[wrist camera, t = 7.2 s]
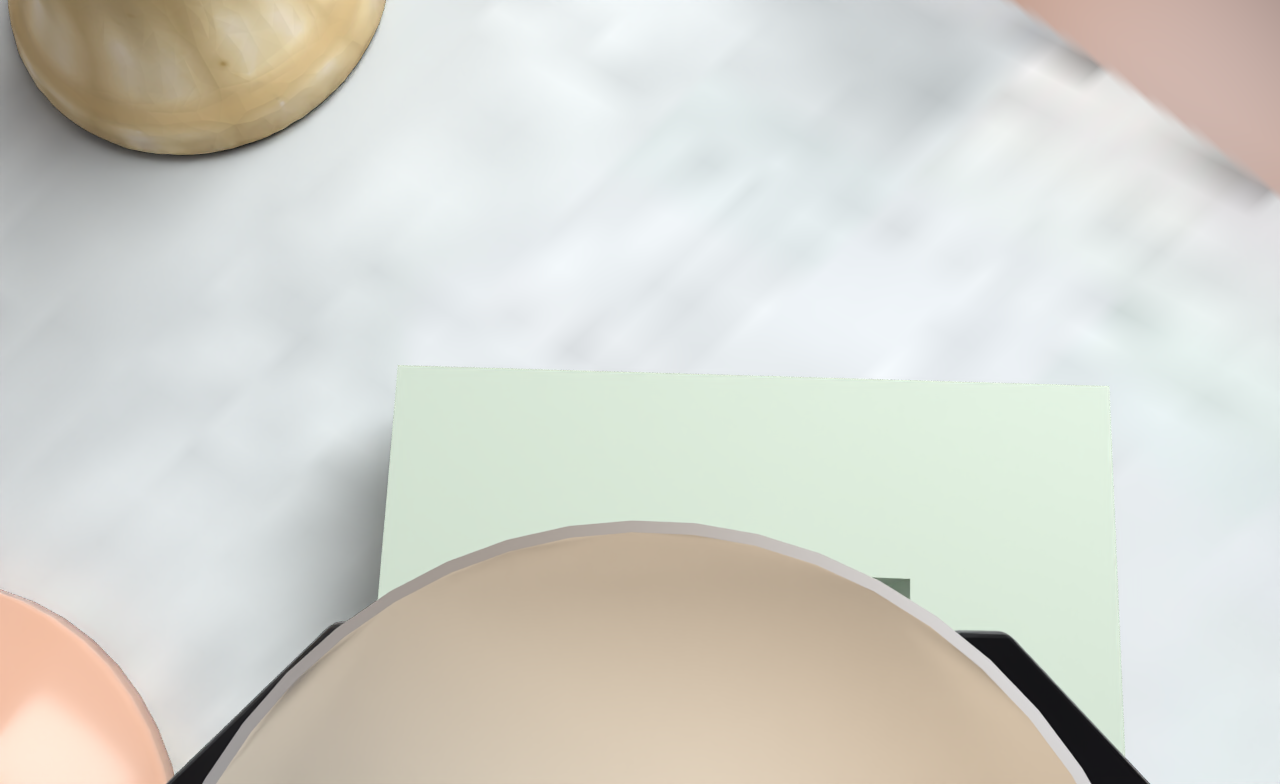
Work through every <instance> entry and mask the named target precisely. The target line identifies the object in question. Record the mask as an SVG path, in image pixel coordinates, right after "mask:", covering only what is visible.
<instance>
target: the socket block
mask: <svg viewBox="0 0 1280 784" xmlns="http://www.w3.org/2000/svg"><path fill="white" fill-rule="evenodd" d="M631 520H633V521H657V522H681V523H697V524H703V525H709V526H715V527H720V528H726V529H732V530H737V531H743V532H749V533H755V534H759V535H763V536H766V537H769V538H772V539H775V540H779V541H782V542H785V543H788V544H791V545H795V546H798V547H801V548H804V549H807V550H811V551H814V552H817V553H820V554H822V555H825V556H827V557H829V558H831V559H833V560H835V561H838V562H840V563H842V564H844V565H846V566H848V567H851V568H853V569H855V570H857V571H859V572H862V573H864V574H866V575H868V576H870V577H872V578H875V579H877V580H879V581H881V582H882V583H884V584H886V585H887V586H889V587H890V588H892V589H894V590H895V591H897V592H898V593H900V594H902V595H903V596H905V597H906V598H908V599H910V600H911V601H913V602H914V603H916V604H918V605H919V606H921V607H922V608H924V609H926V610H927V611H929V612H930V613H932V614H934V615H935V616H937V617H938V618H939V619H941V620H942V621H943V622H944V623H946V624H947V625H948V626H949V627H950V628H952V629H953V630H954V631H957V630H982V631H1002V632H1005V633H1007V634H1008V635H1010V636H1012V637H1013V638H1014V639H1015V640H1016V641H1017V642H1018V643H1019V645H1020V646H1021V647H1022V648H1023V649H1024V650H1025V651H1026V652H1027V653H1028V654H1029V655H1030V656H1031V657H1032V658H1033V659H1034V661H1035V662H1036V663H1037V664H1038V665H1039V666H1040V667H1041V668H1042V669H1043V670H1044V671H1045V672H1046V673H1047V674H1048V675H1049V677H1050V678H1051V679H1052V680H1053V681H1054V682H1055V683H1056V684H1057V685H1058V686H1059V687H1060V688H1061V689H1062V690H1063V691H1064V693H1065V694H1066V695H1067V696H1068V697H1069V698H1070V699H1071V700H1072V701H1073V702H1074V703H1075V704H1076V705H1077V706H1078V707H1079V709H1080V710H1081V711H1082V712H1083V713H1084V714H1085V715H1086V716H1087V717H1088V718H1089V719H1090V720H1091V721H1092V722H1093V723H1094V725H1095V726H1096V727H1097V728H1098V729H1099V730H1100V731H1101V732H1102V733H1103V734H1104V735H1105V736H1106V737H1107V738H1108V740H1109V741H1110V742H1111V743H1112V744H1113V745H1114V746H1115V747H1116V748H1117V749H1118V750H1119V751H1120V752H1121V753H1122V754H1123V756H1124V757H1125V742H1124V718H1123V695H1122V671H1121V648H1120V625H1119V601H1118V578H1117V555H1116V531H1115V508H1114V485H1113V461H1112V438H1111V414H1110V391H1109V386H1089V385H1054V384H1020V383H986V382H952V381H918V380H884V379H850V378H816V377H782V376H748V375H714V374H680V373H645V372H611V371H577V370H543V369H509V368H475V367H441V366H407V365H398V370H397V381H396V393H395V405H394V416H393V428H392V439H391V451H390V463H389V474H388V486H387V497H386V509H385V521H384V532H383V544H382V556H381V567H380V579H379V590H378V599H380V598H381V597H382V596H384V595H385V594H387V593H388V592H390V591H392V590H393V589H395V588H397V587H399V586H401V585H403V584H405V583H407V582H409V581H411V580H413V579H415V578H417V577H418V576H420V575H422V574H424V573H426V572H428V571H430V570H432V569H434V568H436V567H438V566H440V565H442V564H444V563H445V562H448V561H450V560H453V559H456V558H459V557H461V556H464V555H467V554H469V553H472V552H475V551H478V550H480V549H483V548H486V547H489V546H491V545H494V544H497V543H500V542H502V541H505V540H508V539H513V538H517V537H522V536H526V535H531V534H535V533H540V532H544V531H549V530H553V529H558V528H562V527H567V526H575V525H586V524H597V523H608V522H620V521H631Z"/></svg>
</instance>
